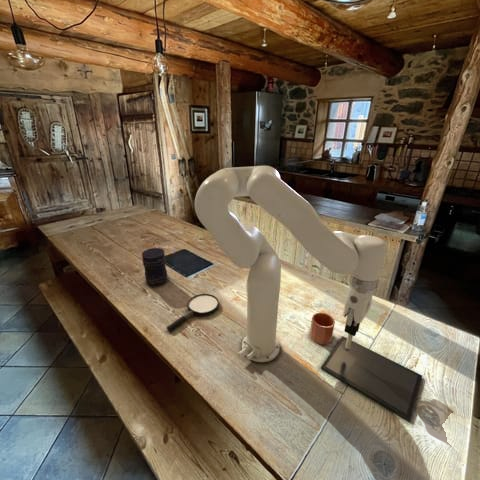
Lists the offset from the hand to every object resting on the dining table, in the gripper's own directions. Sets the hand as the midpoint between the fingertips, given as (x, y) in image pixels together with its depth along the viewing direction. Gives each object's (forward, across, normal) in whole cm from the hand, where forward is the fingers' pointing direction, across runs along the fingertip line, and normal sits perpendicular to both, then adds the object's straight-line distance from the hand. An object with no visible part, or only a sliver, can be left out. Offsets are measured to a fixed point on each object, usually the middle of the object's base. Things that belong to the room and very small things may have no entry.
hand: (351, 331), depth 80 cm
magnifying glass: (+11, -18, +53) cm, 57 cm away
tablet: (+12, 0, -8) cm, 14 cm away
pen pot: (+11, +4, +10) cm, 16 cm away
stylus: (+8, 0, 0) cm, 8 cm away
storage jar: (+11, -14, +84) cm, 86 cm away
